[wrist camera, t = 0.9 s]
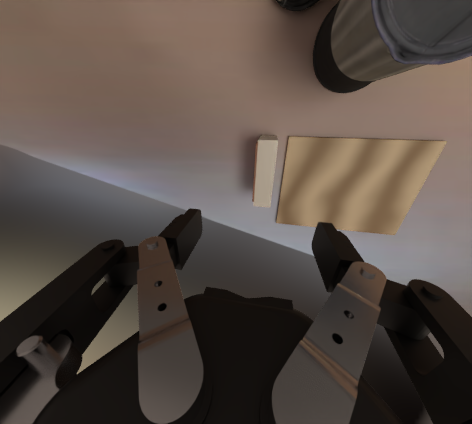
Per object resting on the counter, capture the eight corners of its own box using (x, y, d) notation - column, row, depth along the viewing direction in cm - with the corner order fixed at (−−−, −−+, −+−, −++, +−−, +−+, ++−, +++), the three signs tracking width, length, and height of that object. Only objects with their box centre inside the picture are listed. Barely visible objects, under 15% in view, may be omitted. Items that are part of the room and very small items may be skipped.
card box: (276, 135, 26) (278, 140, 21) (270, 191, 31) (270, 207, 25) (259, 135, 27) (256, 139, 21) (255, 190, 31) (251, 205, 25)
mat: (443, 140, 23) (447, 141, 22) (392, 233, 30) (394, 235, 30) (288, 136, 26) (289, 136, 25) (276, 221, 33) (276, 223, 33)
